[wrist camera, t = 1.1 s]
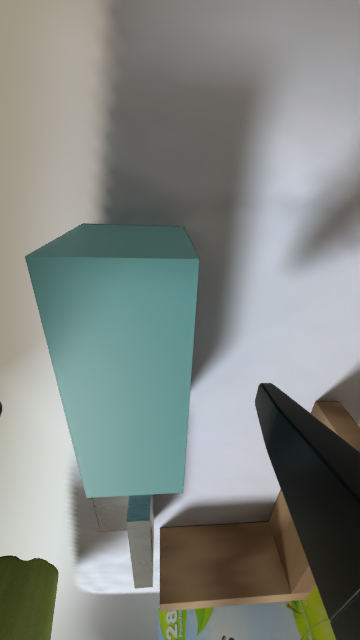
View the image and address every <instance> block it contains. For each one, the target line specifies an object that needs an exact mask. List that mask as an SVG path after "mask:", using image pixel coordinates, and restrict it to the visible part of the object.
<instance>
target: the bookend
mask: <svg viewBox="0 0 360 640" xmlns="http://www.w3.org/2000/svg"><path fill="white" fill-rule="evenodd" d="M93 502H94V506H95V510H96V515H97V519H98V523H99V528H100V531H116V530H128V538H129V546H130V554H131V561H132V569H133V577H134V585H135V588H145V587H153V541H154V503H153V494H150V495H131V496H112V497H93Z"/></svg>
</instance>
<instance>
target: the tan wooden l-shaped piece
mask: <svg viewBox="0 0 360 640" xmlns="http://www.w3.org/2000/svg"><path fill="white" fill-rule="evenodd" d="M311 414H312V415H313V416H314V417H316V418H317V419H318V420H320V421H321V422H322V423H323V424H325V425H326V426H327V427H329V428H330V429H331V430H332V431H334V432H335V433H336V434H337V435H339V436H340V437H341V438H343V439H344V440H345V441H346V442H348V443H349V444H350V445H352V446H353V447H354V448H355V449H357V450H358V451H359V452H360V427H359V426H358V425H357V423H356V422H355V421H354V420H353V418H352V417H351V416H350V415H349V413H348V412H347V411H346V410H345V408H344V407H343V406H342V405H341V403H340V402H315V405H314V407H313V410H312V413H311ZM315 586H316V583H315V580H314V577H313V575H312V572H311V569H310V567H309V564H308V561H307V558H306V556H305V553H304V550H303V547H302V545H301V542H300V539H299V537H298V534H297V531H296V528H295V526H294V523H293V520H292V517H291V515H290V512H289V509H288V507H287V504H286V501H285V498H284V496H283V493H282V490H281V491H280V494H279V496H278V499H277V501H276V504H275V506H274V509H273V511H272V514H271V516H270V519H269V521H268V522H256V523H239V524H222V525H205V526H189V527H172V528H160V612H163V611H175V610H187V609H199V608H211V607H223V606H235V605H247V604H259V603H271V602H283V601H295V600H305V599H306V598H307V597H308V595H309V594H310V593H311V591H312V590H313V589H314V587H315Z"/></svg>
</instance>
